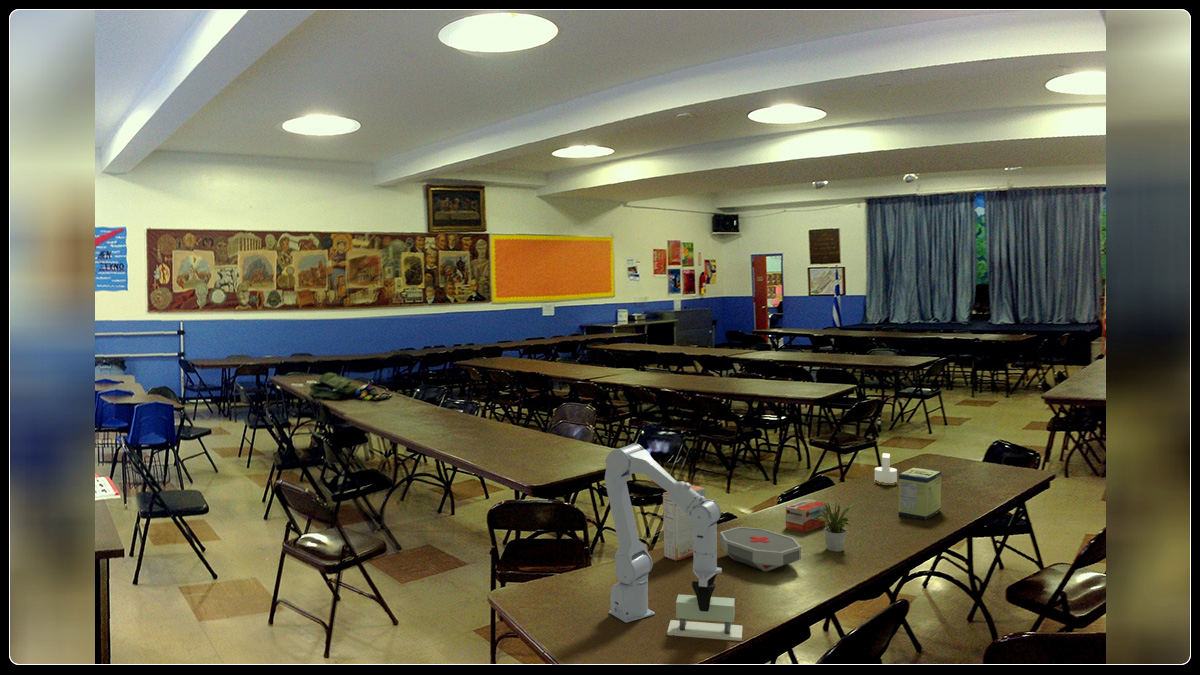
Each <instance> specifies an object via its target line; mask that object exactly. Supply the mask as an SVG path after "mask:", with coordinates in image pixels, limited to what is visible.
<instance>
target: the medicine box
mask: <svg viewBox="0 0 1200 675" xmlns="http://www.w3.org/2000/svg"><path fill="white" fill-rule="evenodd" d="M812 501H813V502H812ZM816 502H817V503H816ZM825 503H826V504H827V503H828V502H825ZM825 503H824V501H821V500H820V501H819V500H816V499H811V498H808V499H805V500H803V501H799V502H796V503H793V504H789V505H787V506H785V528H786V529H789V530H793V531H798V532H801V533H807V532H810V531H813V530H815V529H818V528H821V527H824V526H825V522H826V521H825V522H824V521H823V519H820V518H818V517H820V516H822V517H824V518H825V519H826V520H827V518H828V520H829V517H828V516H829V515H828V513H827V512H826V511H824V510H823V508H825V509H826V507H825V505H824V504H825ZM819 504H820V505H821V506H822V507H823V508H822V507H821V506H820V505H819ZM828 504H829V503H828ZM828 504H827V506H828ZM820 510H822V511H823V512H824V513H825V514H826V513H827V514H826V516H827V515H828V516H827V518H826V516H825V515H824V514H823V512H822V511H820ZM828 520H827V521H828Z"/></svg>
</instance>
